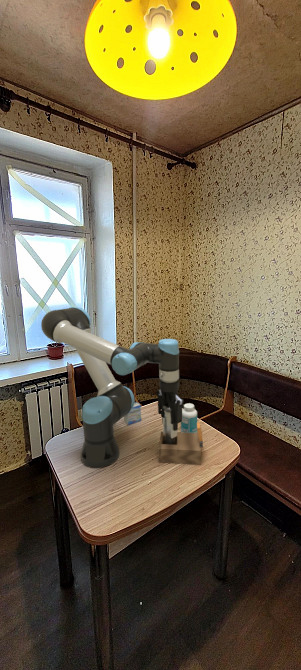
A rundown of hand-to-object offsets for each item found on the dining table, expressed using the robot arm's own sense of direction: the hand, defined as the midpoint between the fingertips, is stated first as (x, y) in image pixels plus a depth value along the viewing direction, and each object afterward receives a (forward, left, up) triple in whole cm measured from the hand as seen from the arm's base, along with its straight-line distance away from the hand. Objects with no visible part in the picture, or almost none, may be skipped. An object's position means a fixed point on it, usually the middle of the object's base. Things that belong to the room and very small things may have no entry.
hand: (169, 434), depth 109 cm
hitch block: (+4, 0, -9) cm, 9 cm away
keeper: (+11, 0, +2) cm, 11 cm away
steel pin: (0, 0, -4) cm, 4 cm away
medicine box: (-20, +24, -9) cm, 33 cm away
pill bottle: (+8, +16, -9) cm, 20 cm away
